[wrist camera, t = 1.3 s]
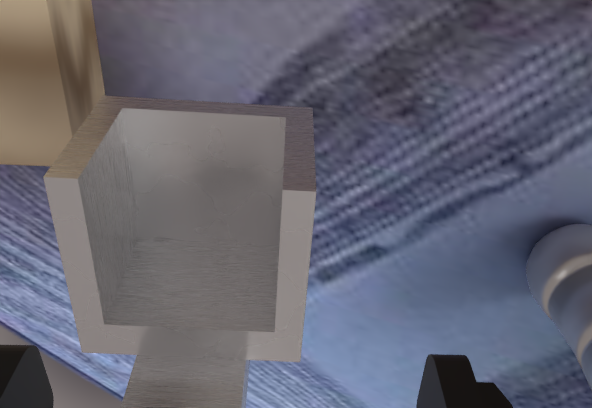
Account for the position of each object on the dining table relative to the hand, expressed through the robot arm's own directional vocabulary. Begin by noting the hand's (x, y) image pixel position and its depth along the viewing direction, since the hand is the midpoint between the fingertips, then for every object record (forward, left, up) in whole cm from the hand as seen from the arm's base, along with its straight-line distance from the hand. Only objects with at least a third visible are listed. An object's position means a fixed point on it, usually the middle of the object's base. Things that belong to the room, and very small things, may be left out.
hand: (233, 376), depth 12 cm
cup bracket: (+5, -2, -23) cm, 24 cm away
